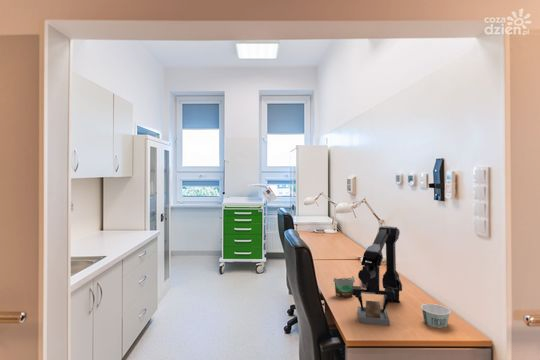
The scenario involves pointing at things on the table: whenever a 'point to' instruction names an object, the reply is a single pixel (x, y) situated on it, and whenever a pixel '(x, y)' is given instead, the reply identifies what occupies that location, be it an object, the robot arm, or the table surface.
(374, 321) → the tray
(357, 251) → the table surface
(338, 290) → the food container
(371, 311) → the cube
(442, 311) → the food container
